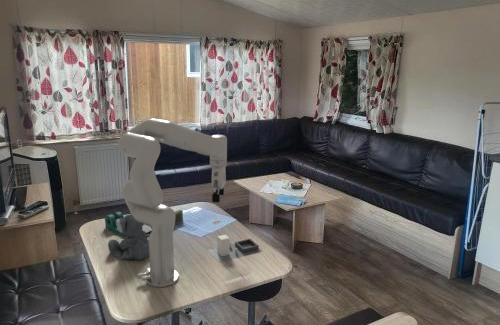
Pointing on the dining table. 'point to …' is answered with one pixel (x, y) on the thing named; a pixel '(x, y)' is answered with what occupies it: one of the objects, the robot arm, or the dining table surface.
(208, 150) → the robot arm
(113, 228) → the dark green rounded piece
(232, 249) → the grey base with tray
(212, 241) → the dining table surface
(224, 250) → the cream rectangular block
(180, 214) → the handheld radio
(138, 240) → the koala plush
